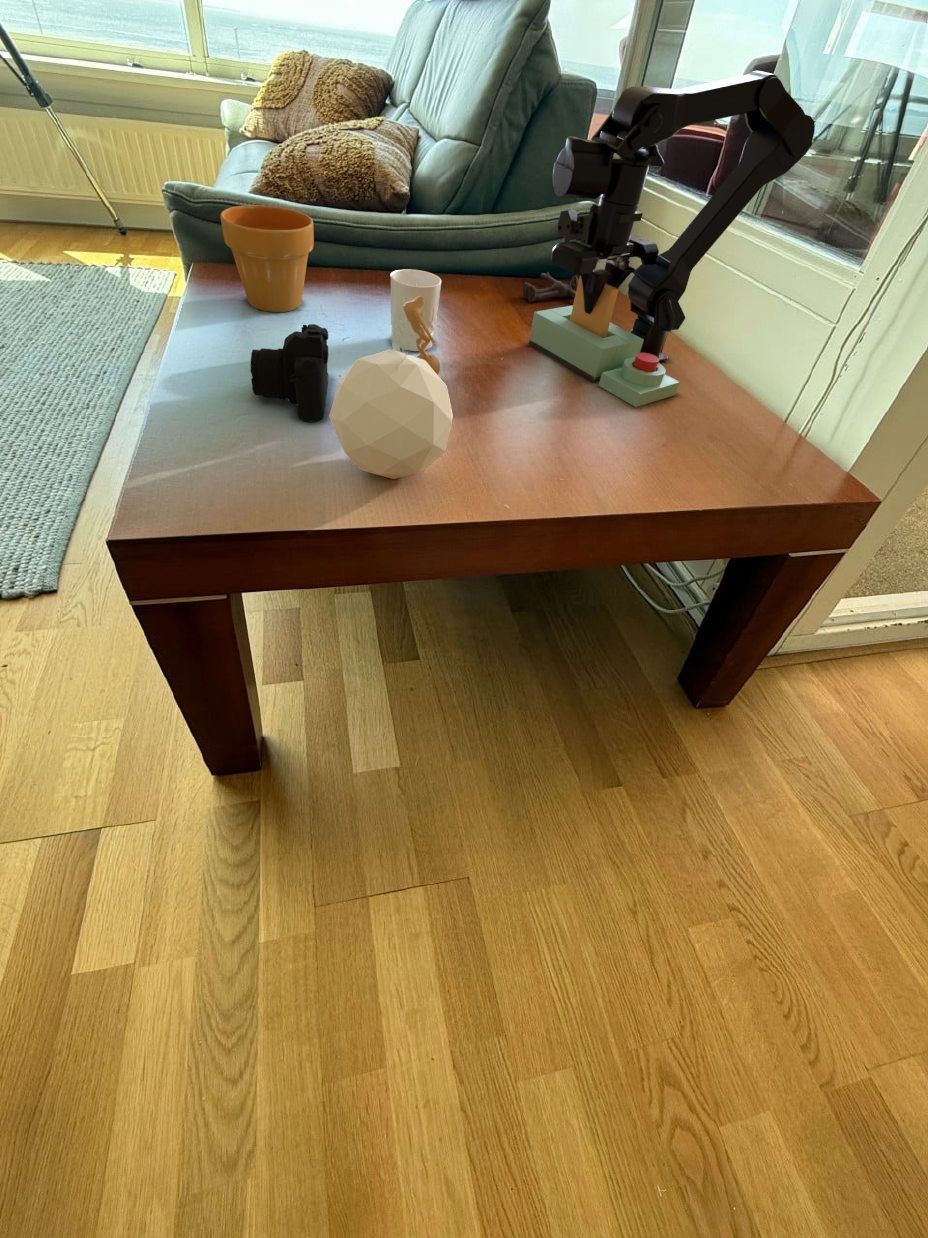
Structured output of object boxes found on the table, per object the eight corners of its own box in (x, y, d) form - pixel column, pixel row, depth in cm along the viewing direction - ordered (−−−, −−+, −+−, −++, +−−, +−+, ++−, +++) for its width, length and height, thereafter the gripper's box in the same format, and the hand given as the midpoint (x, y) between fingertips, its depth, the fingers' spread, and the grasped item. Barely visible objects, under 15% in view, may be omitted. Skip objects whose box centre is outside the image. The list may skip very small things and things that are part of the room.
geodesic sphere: (322, 378, 78) (324, 309, 64) (434, 380, 82) (459, 314, 68) (332, 495, 77) (336, 450, 63) (446, 492, 80) (474, 448, 66)
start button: (642, 361, 101) (646, 350, 100) (660, 371, 99) (663, 360, 98) (628, 365, 99) (631, 354, 98) (645, 375, 97) (649, 363, 96)
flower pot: (308, 323, 105) (304, 235, 96) (221, 312, 104) (208, 222, 95) (323, 294, 115) (320, 212, 106) (243, 284, 114) (234, 199, 105)
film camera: (264, 369, 91) (257, 304, 85) (332, 375, 93) (331, 311, 86) (249, 421, 81) (239, 351, 74) (326, 426, 82) (323, 357, 76)
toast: (576, 322, 107) (587, 274, 102) (606, 337, 104) (619, 288, 98) (568, 323, 106) (579, 275, 101) (598, 339, 103) (611, 290, 97)
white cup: (429, 356, 101) (435, 290, 94) (382, 347, 102) (384, 280, 95) (440, 339, 107) (446, 275, 100) (395, 330, 107) (398, 265, 100)
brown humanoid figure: (503, 268, 129) (561, 258, 134) (501, 290, 132) (558, 279, 137) (554, 300, 118) (614, 288, 123) (551, 323, 122) (610, 310, 127)
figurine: (449, 391, 93) (458, 306, 85) (412, 395, 91) (418, 308, 82) (425, 367, 98) (431, 284, 90) (389, 370, 96) (392, 286, 87)
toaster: (568, 336, 115) (575, 304, 111) (633, 372, 107) (644, 339, 103) (528, 344, 110) (534, 311, 106) (593, 382, 102) (603, 348, 98)
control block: (638, 374, 106) (645, 350, 103) (675, 395, 102) (684, 370, 99) (598, 385, 101) (605, 360, 98) (635, 407, 97) (643, 382, 94)
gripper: (621, 184, 101) (595, 288, 112) (536, 187, 91) (517, 301, 102) (675, 203, 95) (642, 311, 106) (591, 209, 86) (565, 327, 97)
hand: (592, 312), depth 103 cm, fingers closed on toast, 2 cm apart
